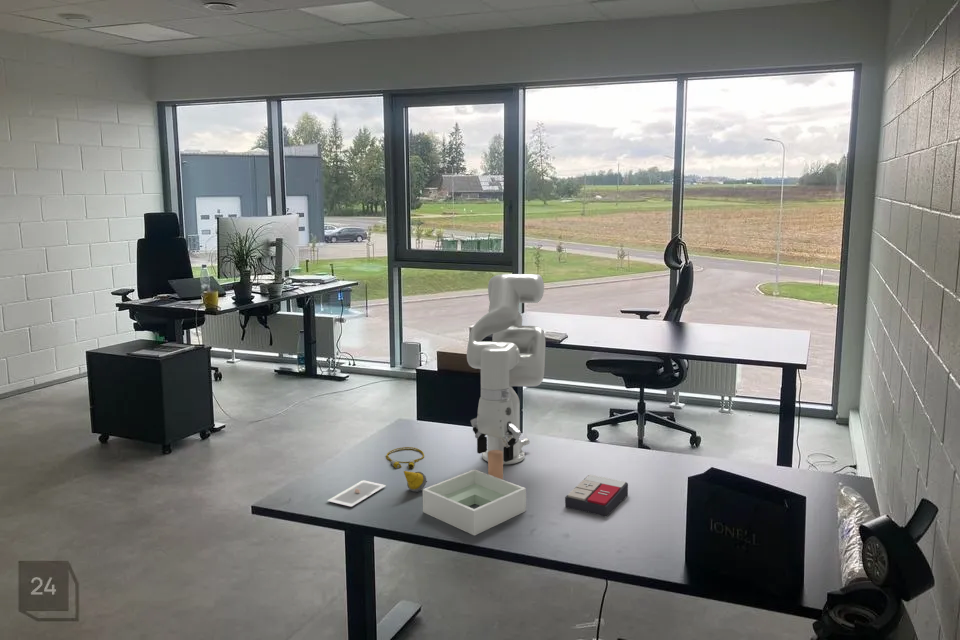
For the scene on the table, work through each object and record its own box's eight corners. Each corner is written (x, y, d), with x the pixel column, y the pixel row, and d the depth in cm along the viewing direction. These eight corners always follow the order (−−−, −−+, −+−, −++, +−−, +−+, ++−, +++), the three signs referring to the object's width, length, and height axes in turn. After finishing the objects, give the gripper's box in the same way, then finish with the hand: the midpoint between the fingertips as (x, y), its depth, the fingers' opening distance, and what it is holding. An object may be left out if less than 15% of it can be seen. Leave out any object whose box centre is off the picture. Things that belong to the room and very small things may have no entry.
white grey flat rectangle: (327, 504, 188) (326, 496, 187) (363, 483, 201) (362, 476, 200) (351, 510, 184) (351, 502, 184) (386, 489, 197) (386, 481, 197)
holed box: (474, 490, 194) (474, 469, 193) (526, 511, 182) (526, 488, 181) (423, 512, 182) (422, 489, 181) (474, 535, 169) (474, 511, 168)
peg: (495, 480, 201) (495, 448, 200) (506, 484, 199) (506, 452, 197) (485, 484, 199) (484, 452, 197) (495, 488, 196) (495, 456, 194)
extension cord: (373, 467, 213) (372, 460, 212) (397, 449, 227) (397, 442, 227) (411, 472, 209) (411, 465, 208) (433, 453, 223) (433, 447, 223)
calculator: (564, 494, 183) (588, 471, 196) (564, 510, 184) (588, 486, 197) (606, 504, 178) (628, 479, 190) (606, 520, 179) (628, 495, 191)
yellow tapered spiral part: (432, 492, 195) (413, 476, 188) (415, 499, 196) (395, 483, 189) (430, 474, 198) (411, 458, 191) (413, 481, 200) (394, 465, 193)
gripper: (529, 396, 190) (528, 460, 193) (481, 386, 202) (481, 446, 205) (509, 402, 185) (509, 467, 188) (462, 390, 197) (462, 452, 200)
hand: (495, 456), depth 196 cm, fingers open, 9 cm apart
